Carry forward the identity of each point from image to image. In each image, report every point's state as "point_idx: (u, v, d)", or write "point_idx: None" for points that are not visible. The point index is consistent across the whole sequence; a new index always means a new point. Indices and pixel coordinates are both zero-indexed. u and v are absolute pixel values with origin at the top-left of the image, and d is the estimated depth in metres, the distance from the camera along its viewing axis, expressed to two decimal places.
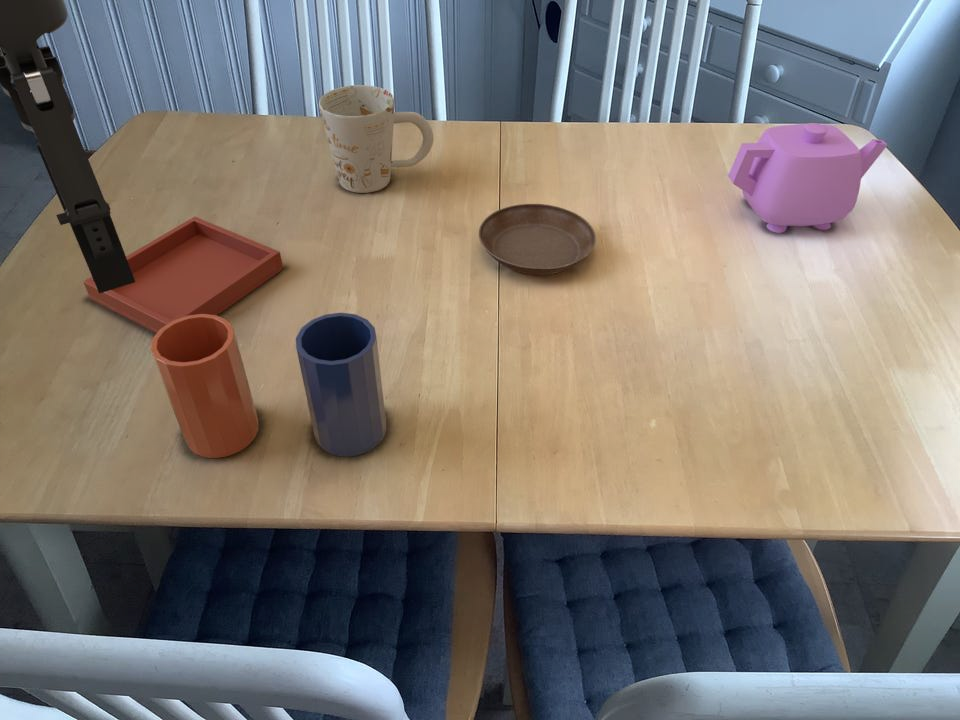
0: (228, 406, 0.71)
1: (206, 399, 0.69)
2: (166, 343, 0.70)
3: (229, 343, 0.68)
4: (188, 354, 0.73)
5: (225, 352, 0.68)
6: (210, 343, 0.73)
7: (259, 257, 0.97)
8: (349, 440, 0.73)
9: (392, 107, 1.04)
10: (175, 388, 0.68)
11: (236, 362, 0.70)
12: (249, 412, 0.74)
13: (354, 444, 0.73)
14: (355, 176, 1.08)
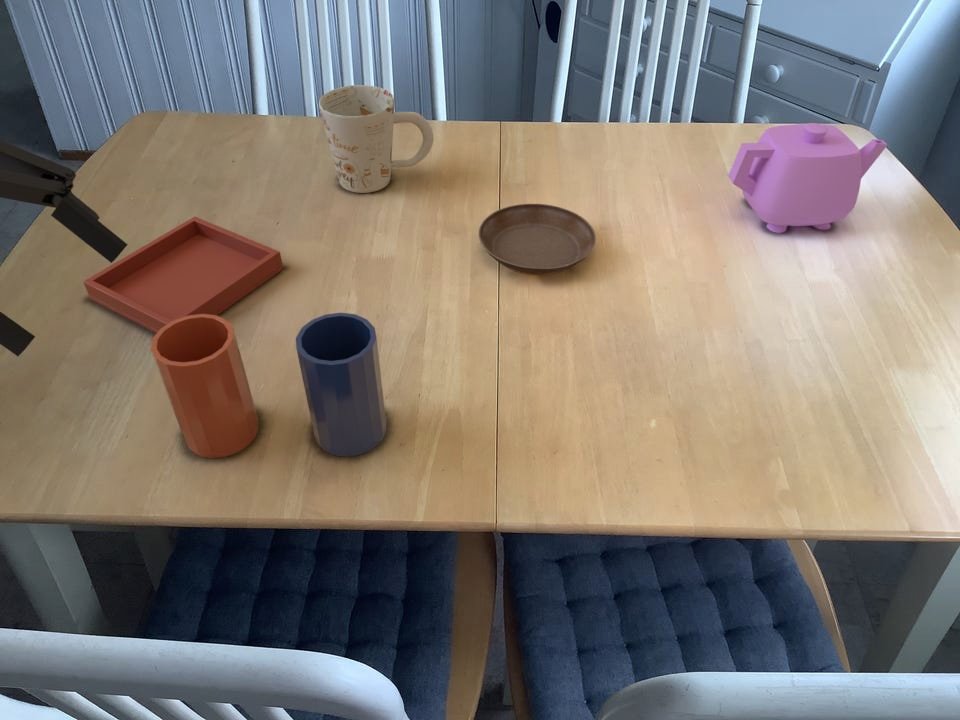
0: (228, 406, 0.71)
1: (206, 399, 0.69)
2: (166, 343, 0.70)
3: (229, 343, 0.68)
4: (188, 354, 0.73)
5: (225, 352, 0.68)
6: (210, 343, 0.73)
7: (259, 257, 0.97)
8: (349, 440, 0.73)
9: (392, 107, 1.04)
10: (175, 388, 0.68)
11: (236, 362, 0.70)
12: (249, 412, 0.74)
13: (354, 444, 0.73)
14: (355, 176, 1.08)
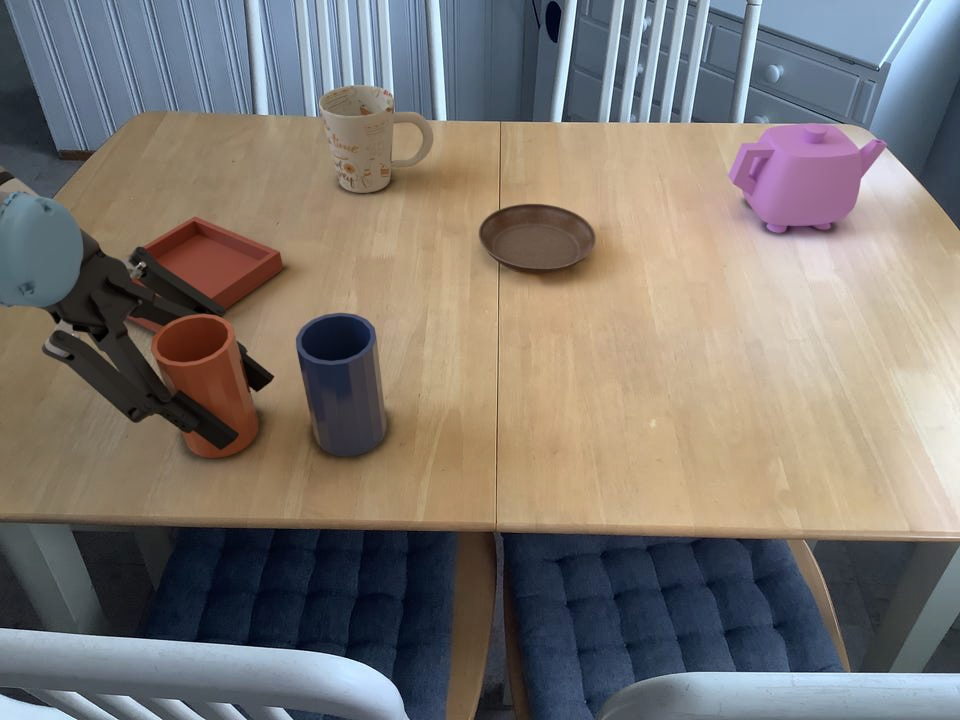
0: (228, 406, 0.71)
1: (206, 399, 0.69)
2: (166, 343, 0.70)
3: (229, 343, 0.68)
4: (188, 354, 0.73)
5: (225, 352, 0.68)
6: (210, 343, 0.73)
7: (259, 257, 0.97)
8: (349, 440, 0.73)
9: (392, 107, 1.04)
10: (175, 388, 0.68)
11: (236, 362, 0.70)
12: (249, 412, 0.74)
13: (354, 444, 0.73)
14: (355, 176, 1.08)
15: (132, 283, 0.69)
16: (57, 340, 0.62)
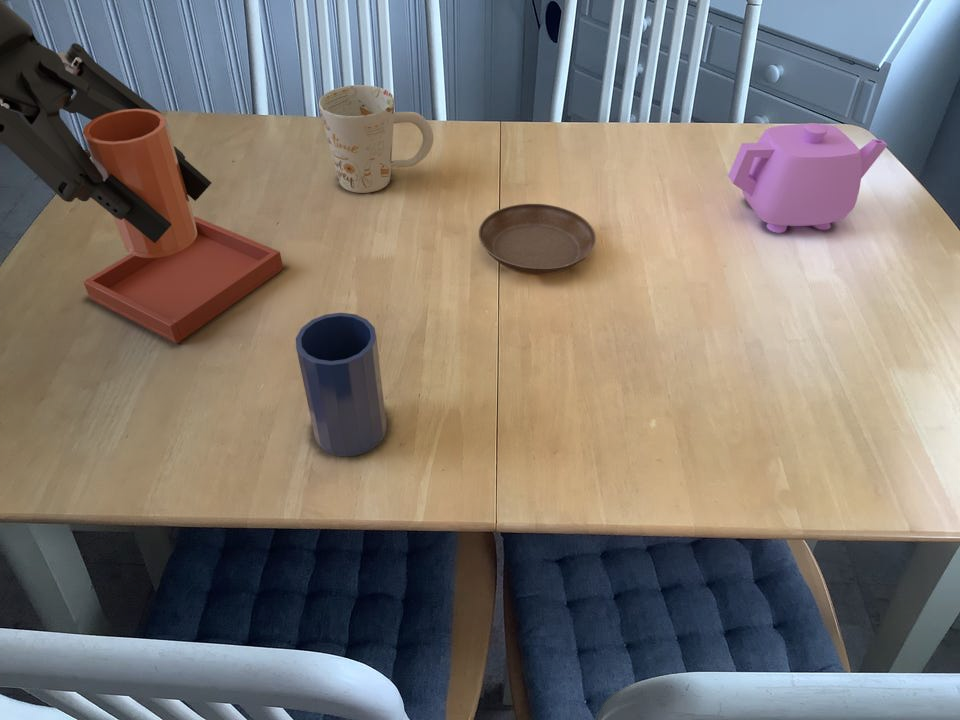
0: (161, 198, 0.72)
1: (138, 186, 0.70)
2: (100, 134, 0.71)
3: (160, 128, 0.69)
4: None
5: (156, 136, 0.69)
6: None
7: (259, 257, 0.97)
8: (349, 440, 0.73)
9: (392, 107, 1.04)
10: (107, 172, 0.69)
11: (169, 152, 0.71)
12: (185, 213, 0.75)
13: (354, 444, 0.73)
14: (355, 176, 1.08)
15: (66, 71, 0.70)
16: None
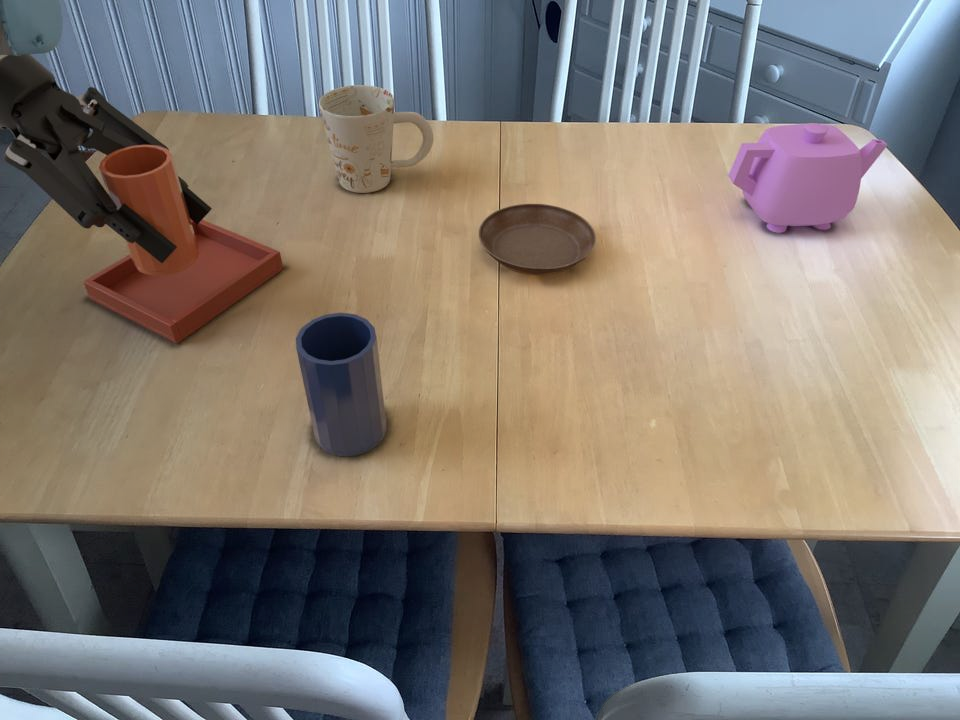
0: (168, 223, 0.82)
1: (147, 213, 0.80)
2: (114, 167, 0.81)
3: (167, 163, 0.79)
4: None
5: (163, 170, 0.79)
6: None
7: (259, 257, 0.97)
8: (349, 440, 0.73)
9: (392, 107, 1.04)
10: (120, 202, 0.79)
11: (174, 183, 0.81)
12: (188, 235, 0.85)
13: (354, 444, 0.73)
14: (355, 176, 1.08)
15: (84, 113, 0.80)
16: (16, 147, 0.73)
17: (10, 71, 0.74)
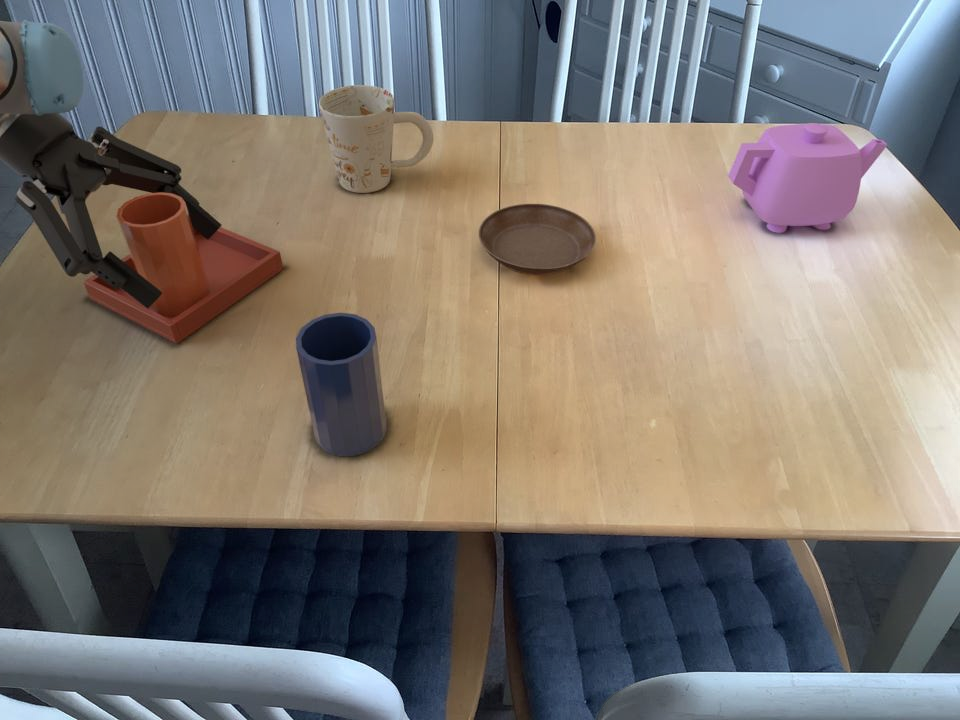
0: (181, 268, 0.86)
1: (162, 259, 0.84)
2: (130, 215, 0.85)
3: (181, 212, 0.83)
4: None
5: (177, 218, 0.82)
6: (168, 219, 0.88)
7: (259, 257, 0.97)
8: (349, 440, 0.73)
9: (392, 107, 1.04)
10: (137, 249, 0.83)
11: (188, 230, 0.85)
12: (201, 278, 0.89)
13: (354, 444, 0.73)
14: (355, 176, 1.08)
15: (100, 160, 0.83)
16: (25, 187, 0.76)
17: (32, 123, 0.77)
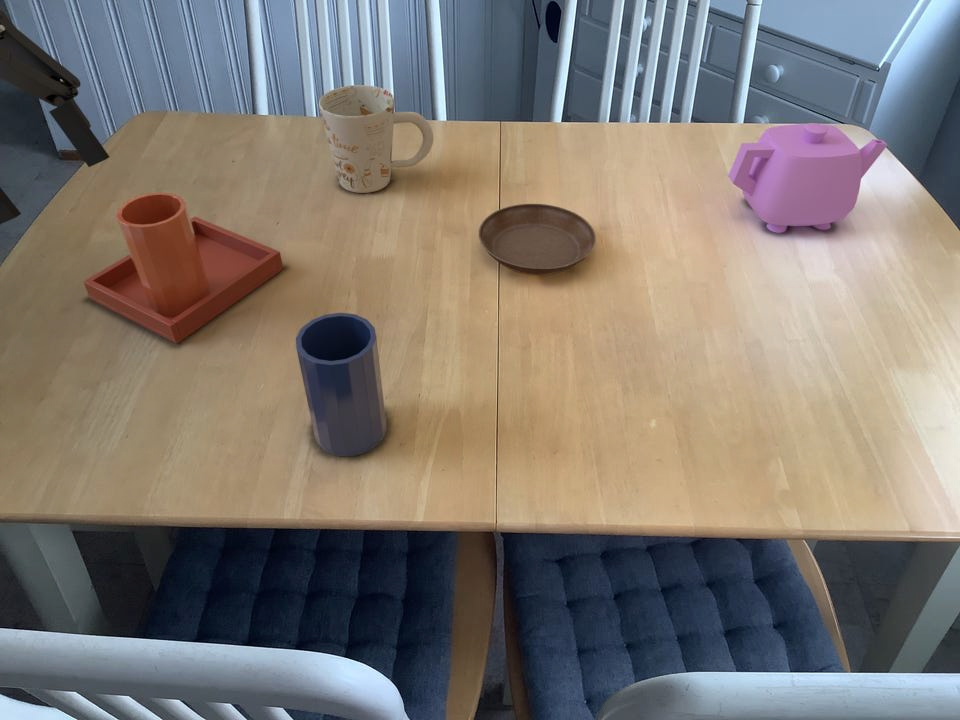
0: (181, 268, 0.86)
1: (162, 259, 0.84)
2: (130, 215, 0.85)
3: (181, 212, 0.83)
4: None
5: (177, 218, 0.82)
6: (168, 219, 0.88)
7: (259, 257, 0.97)
8: (349, 440, 0.73)
9: (392, 107, 1.04)
10: (137, 249, 0.83)
11: (188, 230, 0.85)
12: (201, 278, 0.89)
13: (354, 444, 0.73)
14: (355, 176, 1.08)
15: None
16: None
17: None
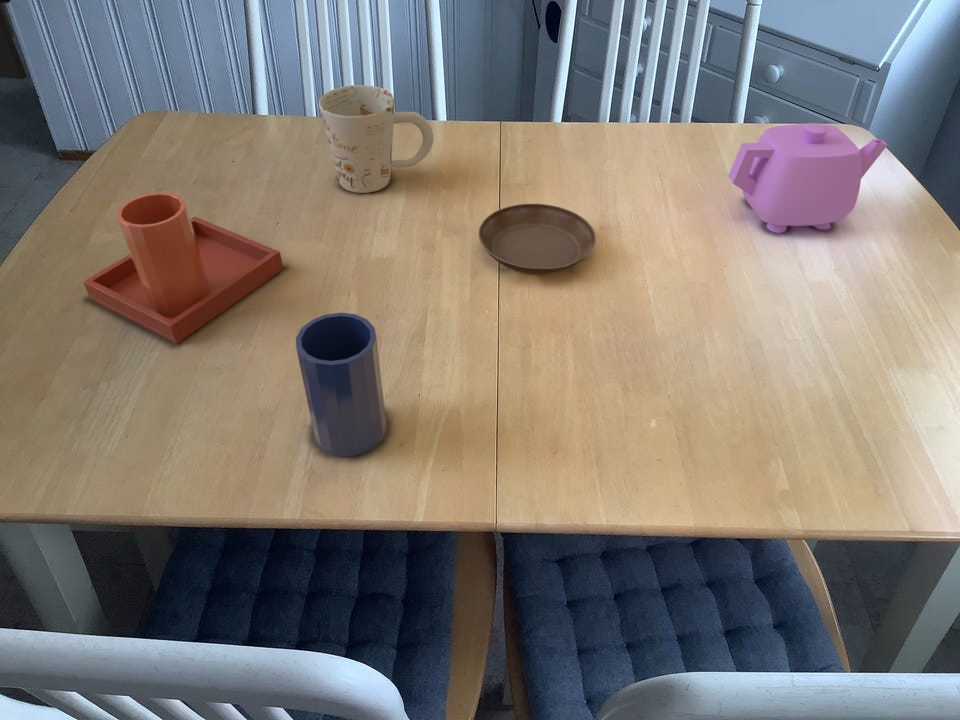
0: (181, 268, 0.86)
1: (162, 259, 0.84)
2: (130, 215, 0.85)
3: (181, 212, 0.83)
4: None
5: (177, 218, 0.82)
6: (168, 219, 0.88)
7: (259, 257, 0.97)
8: (349, 440, 0.73)
9: (392, 107, 1.04)
10: (137, 249, 0.83)
11: (188, 230, 0.85)
12: (201, 278, 0.89)
13: (354, 444, 0.73)
14: (355, 176, 1.08)
15: None
16: None
17: None
